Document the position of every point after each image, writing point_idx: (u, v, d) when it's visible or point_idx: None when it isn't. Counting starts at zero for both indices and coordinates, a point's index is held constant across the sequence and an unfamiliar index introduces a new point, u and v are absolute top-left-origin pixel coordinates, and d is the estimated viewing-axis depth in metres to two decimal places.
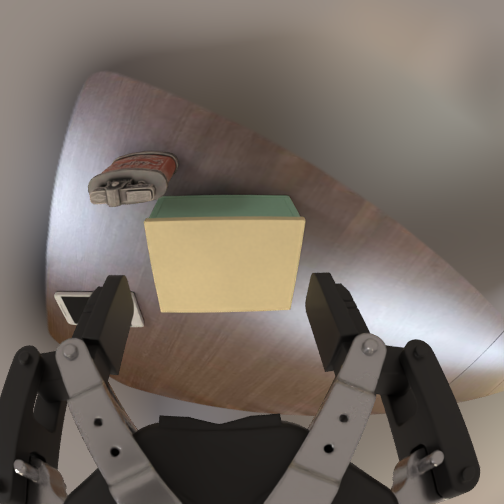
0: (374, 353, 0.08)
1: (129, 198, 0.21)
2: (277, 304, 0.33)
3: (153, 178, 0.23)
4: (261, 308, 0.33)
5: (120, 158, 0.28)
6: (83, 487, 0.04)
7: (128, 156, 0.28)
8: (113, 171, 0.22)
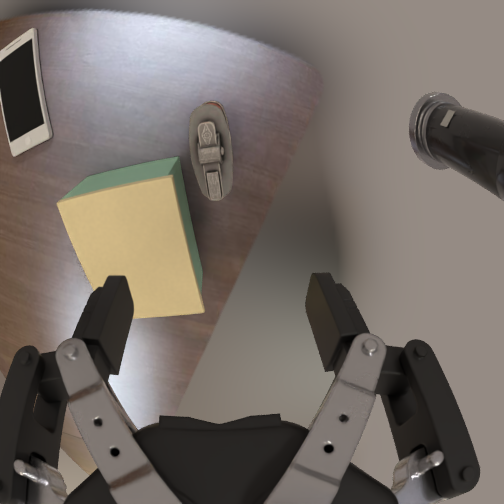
0: (374, 353, 0.08)
1: (210, 175, 0.20)
2: None
3: (224, 184, 0.23)
4: None
5: (223, 112, 0.25)
6: (83, 487, 0.04)
7: (226, 121, 0.26)
8: (229, 137, 0.21)
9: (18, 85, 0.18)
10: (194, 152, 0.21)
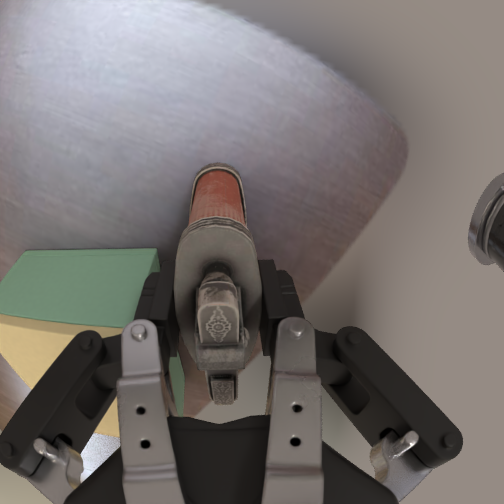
0: (299, 336, 0.08)
1: (217, 383, 0.09)
2: None
3: None
4: None
5: (241, 190, 0.15)
6: (83, 487, 0.04)
7: (243, 208, 0.15)
8: None
9: None
10: (184, 313, 0.10)
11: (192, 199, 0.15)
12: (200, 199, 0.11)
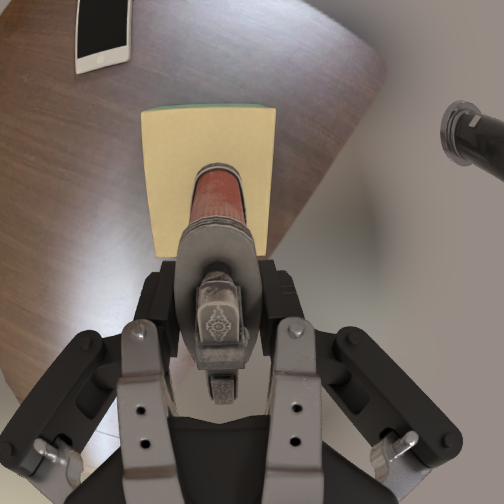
0: (299, 336, 0.08)
1: (217, 383, 0.09)
2: (162, 244, 0.29)
3: None
4: (155, 229, 0.28)
5: (241, 189, 0.15)
6: (83, 488, 0.04)
7: (244, 208, 0.15)
8: None
9: (104, 5, 0.18)
10: (184, 312, 0.10)
11: (192, 199, 0.15)
12: (200, 198, 0.11)
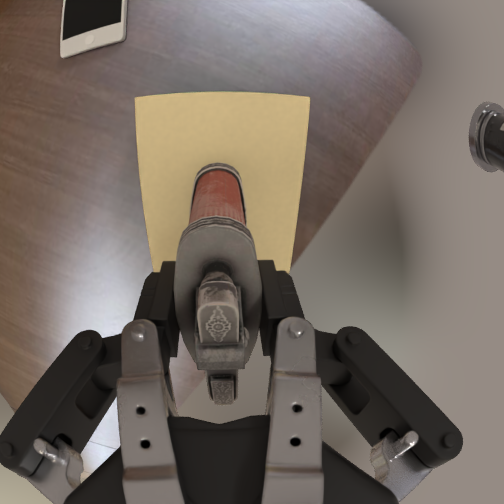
0: (299, 336, 0.08)
1: (217, 383, 0.09)
2: None
3: None
4: (153, 247, 0.22)
5: (241, 189, 0.15)
6: (83, 488, 0.04)
7: (243, 208, 0.15)
8: None
9: None
10: (184, 313, 0.10)
11: (192, 199, 0.15)
12: (200, 199, 0.11)
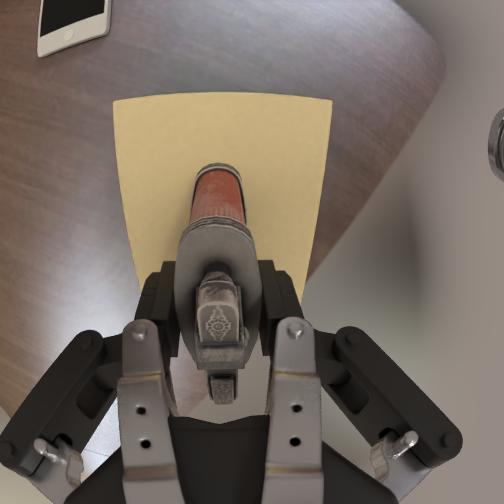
0: (299, 336, 0.08)
1: (217, 383, 0.09)
2: None
3: None
4: (142, 280, 0.19)
5: (241, 189, 0.15)
6: (83, 487, 0.04)
7: (244, 208, 0.15)
8: None
9: None
10: (184, 312, 0.10)
11: (192, 199, 0.15)
12: (200, 198, 0.11)
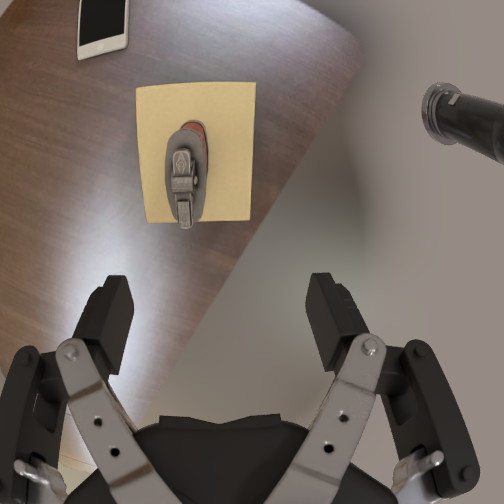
0: (374, 353, 0.08)
1: (180, 204, 0.20)
2: (153, 209, 0.30)
3: (195, 211, 0.23)
4: (146, 195, 0.29)
5: (204, 133, 0.25)
6: (83, 487, 0.04)
7: (206, 143, 0.26)
8: (205, 165, 0.21)
9: None
10: (169, 177, 0.21)
11: None
12: (180, 129, 0.22)
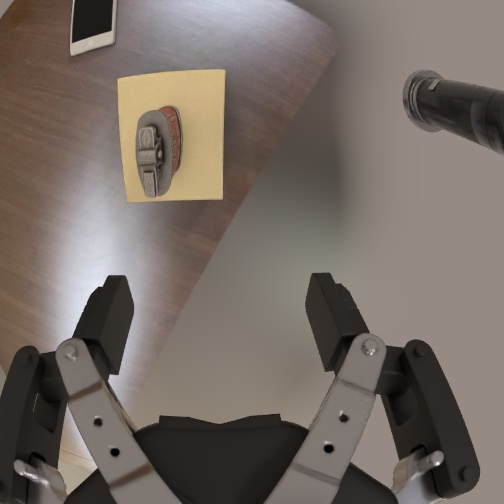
0: (374, 353, 0.08)
1: (146, 175, 0.21)
2: (132, 189, 0.31)
3: (163, 184, 0.24)
4: (126, 176, 0.30)
5: (178, 116, 0.26)
6: (83, 487, 0.04)
7: (179, 126, 0.27)
8: (171, 141, 0.22)
9: None
10: None
11: None
12: None
